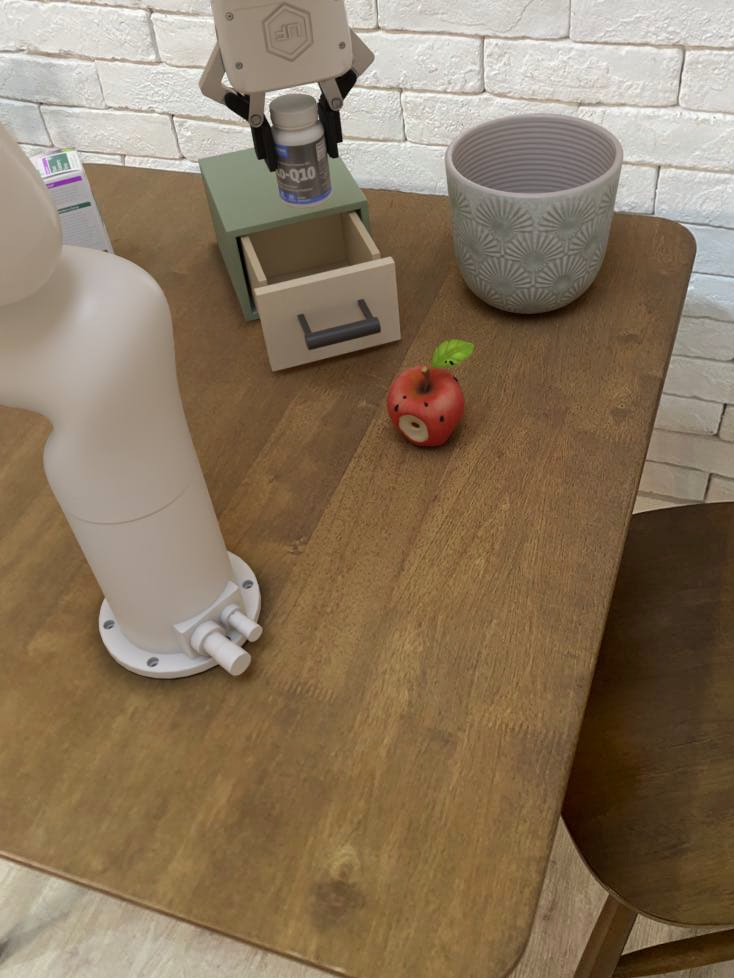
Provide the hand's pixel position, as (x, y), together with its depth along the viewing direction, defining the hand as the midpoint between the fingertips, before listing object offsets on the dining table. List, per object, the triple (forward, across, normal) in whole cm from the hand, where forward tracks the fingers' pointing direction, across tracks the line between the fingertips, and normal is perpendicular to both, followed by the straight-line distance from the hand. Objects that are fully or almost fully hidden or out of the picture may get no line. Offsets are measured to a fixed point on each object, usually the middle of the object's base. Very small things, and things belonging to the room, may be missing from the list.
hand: (300, 156), depth 81 cm
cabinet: (+20, 0, +16) cm, 26 cm away
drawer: (+19, 0, +2) cm, 19 cm away
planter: (+20, +22, +1) cm, 30 cm away
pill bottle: (+4, 0, 0) cm, 4 cm away
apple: (+20, +5, -17) cm, 27 cm away
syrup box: (+20, -22, +22) cm, 37 cm away
